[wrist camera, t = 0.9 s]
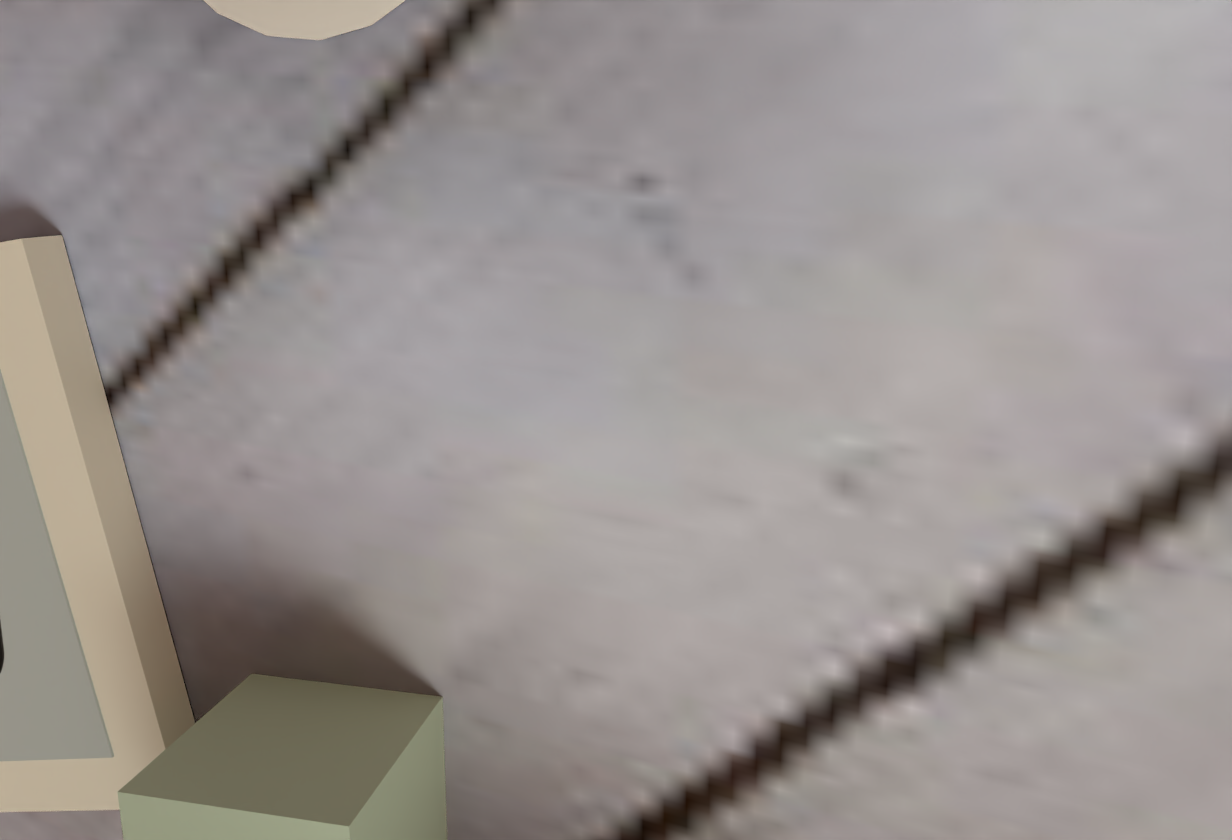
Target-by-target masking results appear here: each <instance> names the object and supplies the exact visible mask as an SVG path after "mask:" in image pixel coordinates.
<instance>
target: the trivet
mask: <svg viewBox="0 0 1232 840" xmlns="http://www.w3.org/2000/svg"><path fill="white" fill-rule="evenodd" d="M0 620H1V629H2V637H3V646H4V663H3V667H2V670H1V673H0V812H33V811H83V810H120V808H119V800H118V791H119V790H120V789H121V788H122V787H124V786H125V785H126V784H127V783H128V782H129V781H130V780H131V779H133V778H134V777H135V776H136V775H137V774H138V773H139V772H141V771H142V770H143V769H144V768H145V767H146V766H147V765H148V764H150V763H151V762H152V761H153V760H154V759H155V758H156V757H158V756H159V755H160V754H161V753H162V752H163V751H164V750H165V749H167V748H168V747H169V746H170V745H171V744H172V743H173V742H175V741H176V740H177V739H178V738H179V737H180V736H181V735H182V734H184V733H185V732H186V731H187V730H188V729H189V728H190V727H192V726H193V725H194V724H195V721H194V717H193V713H192V710H191V706H190V702H189V699H188V695H187V691H186V688H185V684H184V680H183V677H182V673H181V669H180V666H179V662H178V658H177V655H176V651H175V647H174V644H173V640H172V636H171V633H170V629H169V625H168V622H167V618H166V614H165V611H164V607H163V603H162V600H161V596H160V592H159V589H158V585H157V581H156V578H155V574H154V570H153V567H152V563H151V559H150V556H149V552H148V548H147V545H146V541H145V537H144V534H143V530H142V527H141V523H140V519H139V516H138V512H137V508H136V505H135V501H134V497H133V494H132V490H131V486H130V483H129V479H128V475H127V472H126V468H125V464H124V461H123V457H122V453H121V450H120V446H119V442H118V439H117V435H116V431H115V428H114V424H113V420H112V417H111V413H110V409H109V406H108V402H107V398H106V395H105V391H104V387H103V384H102V380H101V376H100V373H99V369H98V365H97V362H96V358H95V354H94V351H93V347H92V343H91V340H90V336H89V332H88V329H87V325H86V321H85V318H84V314H83V310H82V307H81V303H80V299H79V296H78V292H77V288H76V285H75V281H74V277H73V274H72V270H71V267H70V263H69V259H68V256H67V252H66V248H65V245H64V241H63V237H62V235H57V236H45V237H34V238H22V239H16V240H11V241H5V242H0Z"/></svg>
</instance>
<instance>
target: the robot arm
mask: <svg viewBox="0 0 1232 840" xmlns="http://www.w3.org/2000/svg"><path fill="white" fill-rule="evenodd" d="M3 663H4V646H3V637H2V629H1V620H0V673H1V670H2V667H3Z"/></svg>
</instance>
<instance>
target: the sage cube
mask: <svg viewBox="0 0 1232 840" xmlns="http://www.w3.org/2000/svg"><path fill="white" fill-rule="evenodd" d="M118 800H119V808H120V816H121V824H122V832H123V840H447V817H446V786H445V756H444V725H443V697H441V696H433V695H425V694H416V693H408V692H400V691H391V690H383V689H375V688H366V687H358V686H350V685H342V684H333V683H325V682H317V681H308V680H300V679H292V678H284V677H275V676H267V675H259V674H250V675H249V676H248V677H247V678H246V679H245V680H244V681H243V682H241V683H240V684H239V685H238V686H237V687H236V688H235V689H233V690H232V691H231V692H230V693H229V694H228V695H227V696H226V697H224V698H223V699H222V700H221V701H220V702H219V703H218V704H216V705H215V706H214V707H213V708H212V709H211V710H210V711H209V712H207V713H206V714H205V715H204V716H203V717H202V718H201V719H199V720H198V721H197V722H196V723H195V724H194V725H193V726H192V727H190V728H189V729H188V730H187V731H186V732H185V733H184V734H182V735H181V736H180V737H179V738H178V739H177V740H176V741H175V742H173V743H172V744H171V745H170V746H169V747H168V748H167V749H165V750H164V751H163V752H162V753H161V754H160V755H159V756H158V757H156V758H155V759H154V760H153V761H152V762H151V763H150V764H148V765H147V766H146V767H145V768H144V769H143V770H142V771H141V772H139V773H138V774H137V775H136V776H135V777H134V778H133V779H131V780H130V781H129V782H128V783H127V784H126V785H125V786H124V787H122V788H121V789H120V790H119V791H118Z"/></svg>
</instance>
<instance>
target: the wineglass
mask: <svg viewBox="0 0 1232 840" xmlns="http://www.w3.org/2000/svg"><path fill="white" fill-rule="evenodd" d="M204 1H205V2H206V3H207V4H208V5H209V6H210V7H211V8H212V9H213V10H214V11H215V12H217V13H218V14H220V15H222V16H225V17H227V18H229V19H231V20H233V21H235V22H238V23H240V24H242V25H244V26H246V27H249V28H251V29H253V30H255V31H257V32H259V33H262V34H264V35H266V36H274V37H286V38H298V39H311V40H322V39H326V38H329V37H333V36H336V35H340V34H343V33H347V32H350V31H354V30H357V29H360V28H364V27H367V26H371V25H373V24H374V23H375V22H377V21H378V20H379V19H381V18H382V17H383V16H385V15H386V14H388V13H389V12H390V11H392V10H393V9H394V8H396V7H397V6H399V5H400V4H401V3H403V2H404V1H405V0H204Z"/></svg>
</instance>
